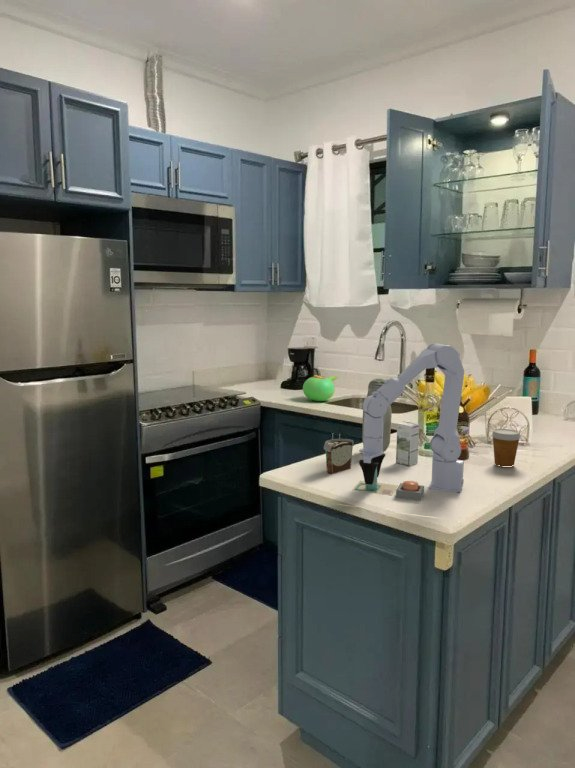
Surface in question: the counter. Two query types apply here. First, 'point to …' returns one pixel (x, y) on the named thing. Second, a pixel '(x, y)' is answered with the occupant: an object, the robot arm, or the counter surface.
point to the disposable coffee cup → (505, 446)
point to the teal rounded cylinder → (374, 485)
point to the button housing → (410, 493)
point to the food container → (338, 455)
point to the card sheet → (381, 488)
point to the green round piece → (319, 388)
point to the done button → (410, 486)
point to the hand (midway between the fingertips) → (371, 480)
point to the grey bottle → (372, 387)
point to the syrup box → (407, 443)
